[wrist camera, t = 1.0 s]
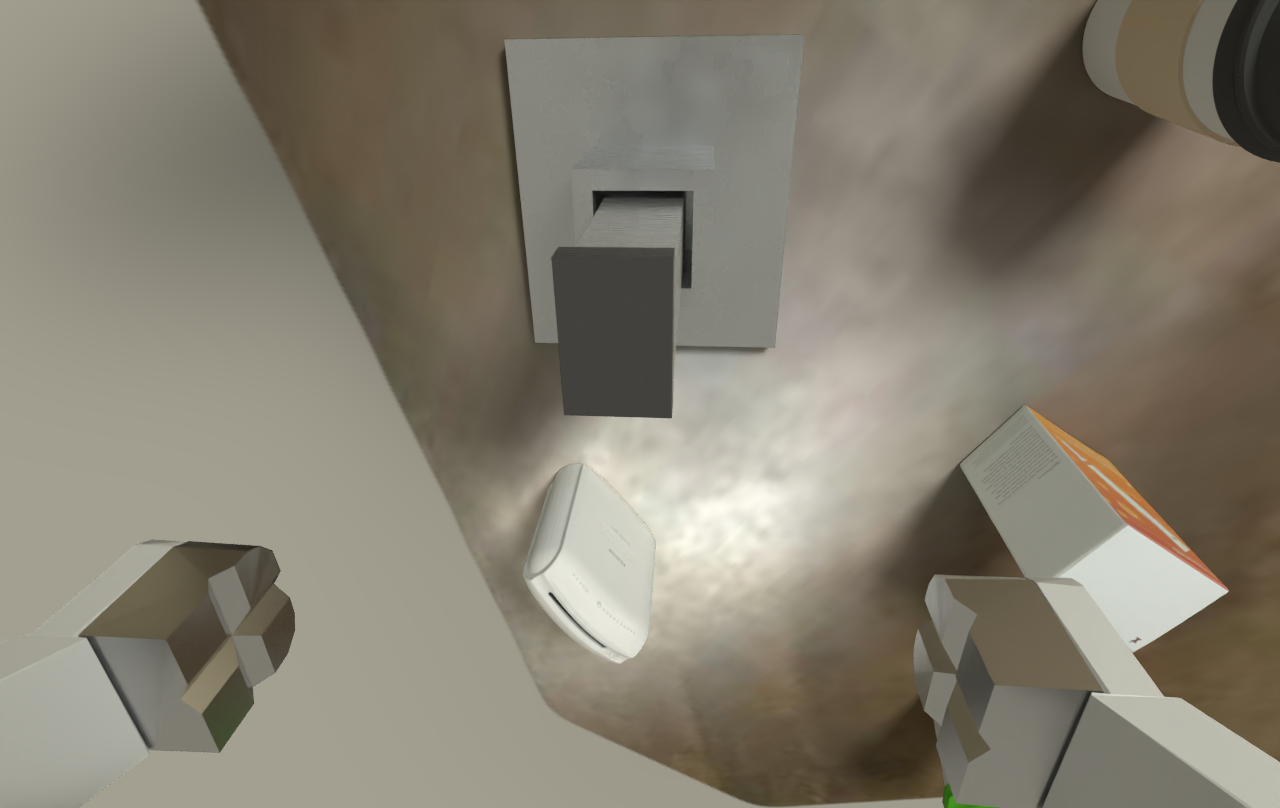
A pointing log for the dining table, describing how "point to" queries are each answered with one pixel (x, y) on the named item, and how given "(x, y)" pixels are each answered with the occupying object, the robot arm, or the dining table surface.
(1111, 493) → the small box
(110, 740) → the robot arm
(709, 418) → the dining table surface
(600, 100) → the stand base
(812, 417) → the dining table surface
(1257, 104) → the coffee cup
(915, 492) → the dining table surface
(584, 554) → the photo printer
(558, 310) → the column
